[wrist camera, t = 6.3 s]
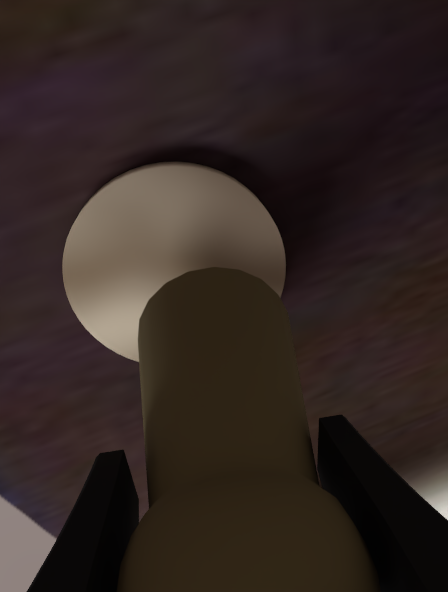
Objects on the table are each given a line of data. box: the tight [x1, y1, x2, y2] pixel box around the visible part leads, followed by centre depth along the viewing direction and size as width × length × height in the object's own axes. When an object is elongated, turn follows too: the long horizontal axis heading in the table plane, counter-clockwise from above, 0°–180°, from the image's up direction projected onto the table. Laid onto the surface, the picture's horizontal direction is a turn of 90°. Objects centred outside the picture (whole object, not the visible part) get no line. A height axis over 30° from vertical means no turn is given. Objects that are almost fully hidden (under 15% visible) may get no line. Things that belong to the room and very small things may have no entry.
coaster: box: [62, 161, 286, 362], centre depth 19 cm, size 10×10×1 cm
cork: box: [117, 267, 381, 592], centre depth 12 cm, size 6×6×11 cm
